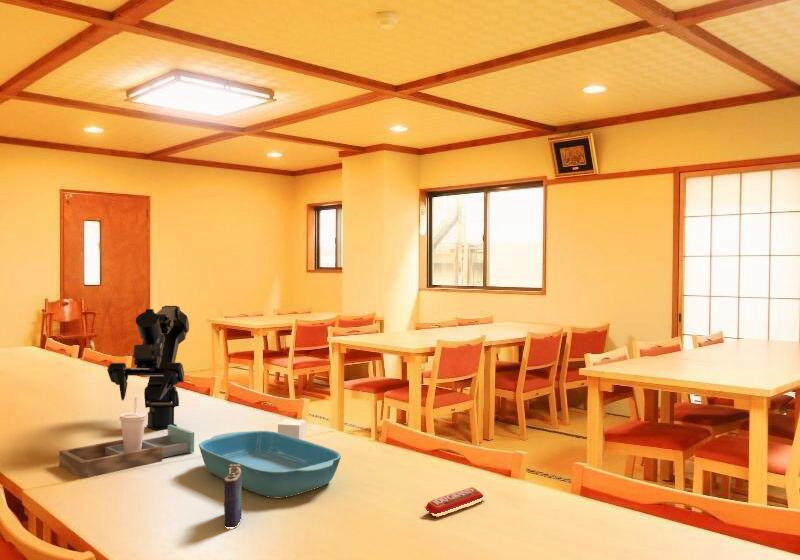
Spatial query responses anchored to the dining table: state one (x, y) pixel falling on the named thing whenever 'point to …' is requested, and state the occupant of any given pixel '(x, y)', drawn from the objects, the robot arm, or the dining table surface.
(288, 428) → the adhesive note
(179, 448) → the tray
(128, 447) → the smoothie
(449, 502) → the candy bar
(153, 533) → the dining table surface
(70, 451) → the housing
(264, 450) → the casserole dish
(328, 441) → the dining table surface
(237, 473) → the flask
